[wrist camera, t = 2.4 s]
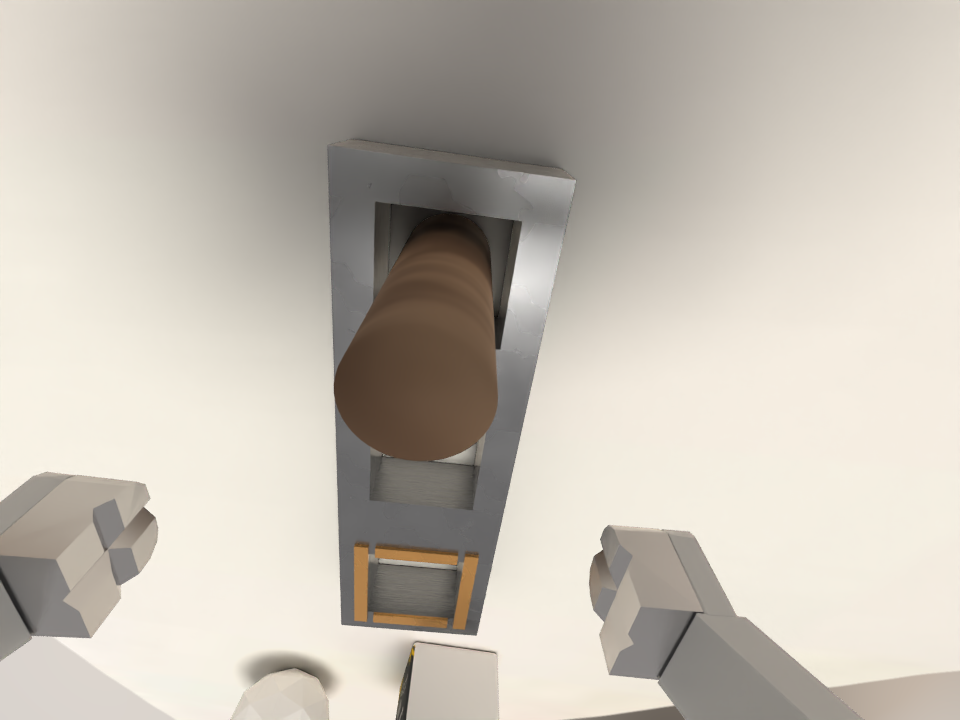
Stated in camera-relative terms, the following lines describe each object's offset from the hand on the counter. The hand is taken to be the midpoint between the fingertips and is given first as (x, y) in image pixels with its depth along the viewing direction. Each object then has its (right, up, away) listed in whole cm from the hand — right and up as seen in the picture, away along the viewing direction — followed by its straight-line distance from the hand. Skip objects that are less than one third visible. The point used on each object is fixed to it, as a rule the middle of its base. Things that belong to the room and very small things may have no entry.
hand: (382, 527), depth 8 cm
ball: (-14, -25, +32) cm, 43 cm away
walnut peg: (0, +8, +13) cm, 16 cm away
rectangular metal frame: (-1, -1, +18) cm, 18 cm away
